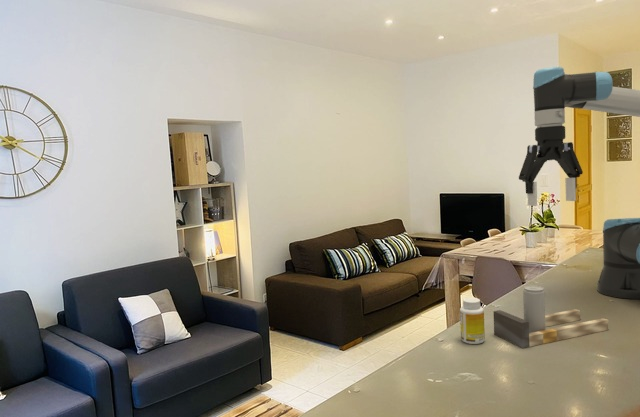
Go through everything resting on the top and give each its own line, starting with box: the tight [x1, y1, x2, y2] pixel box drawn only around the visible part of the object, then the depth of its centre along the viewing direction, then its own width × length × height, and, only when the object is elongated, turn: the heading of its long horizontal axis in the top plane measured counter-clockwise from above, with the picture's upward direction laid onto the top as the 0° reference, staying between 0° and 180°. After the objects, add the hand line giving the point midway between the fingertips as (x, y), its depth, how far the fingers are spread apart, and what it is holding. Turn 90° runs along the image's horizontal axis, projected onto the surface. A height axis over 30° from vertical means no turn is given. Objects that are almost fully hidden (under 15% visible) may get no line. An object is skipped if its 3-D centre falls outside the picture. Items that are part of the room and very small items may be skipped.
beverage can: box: [522, 284, 546, 333], centre depth 119 cm, size 5×5×12 cm
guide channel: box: [493, 308, 609, 349], centre depth 121 cm, size 26×10×6 cm, turn 108°
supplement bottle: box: [459, 297, 486, 345], centre depth 118 cm, size 6×6×10 cm
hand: (552, 203), depth 135 cm, fingers open, 13 cm apart
